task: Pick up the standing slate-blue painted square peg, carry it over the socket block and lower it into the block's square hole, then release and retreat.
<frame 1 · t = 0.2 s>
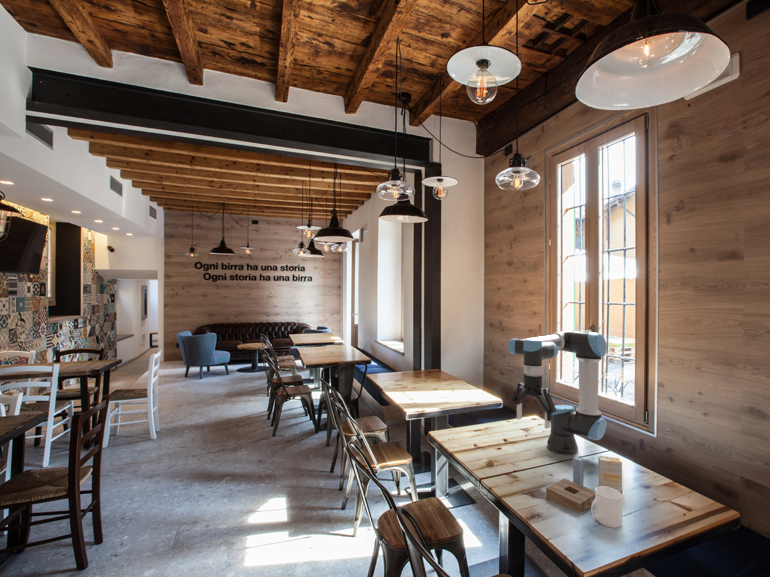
hand: (532, 423, 160), 27 cm above the table, fingers open, 13 cm apart
socket block: (571, 499, 150), on the table
mug: (604, 522, 135), on the table
peg: (578, 486, 160), on the table
supplement box: (610, 489, 158), on the table
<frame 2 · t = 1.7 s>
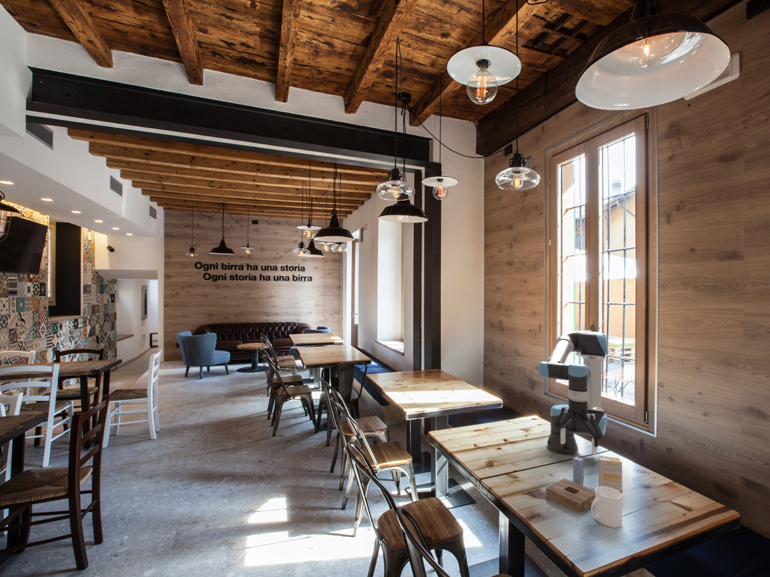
hand: (578, 448, 160), 17 cm above the table, fingers open, 13 cm apart
nothing on the table moved.
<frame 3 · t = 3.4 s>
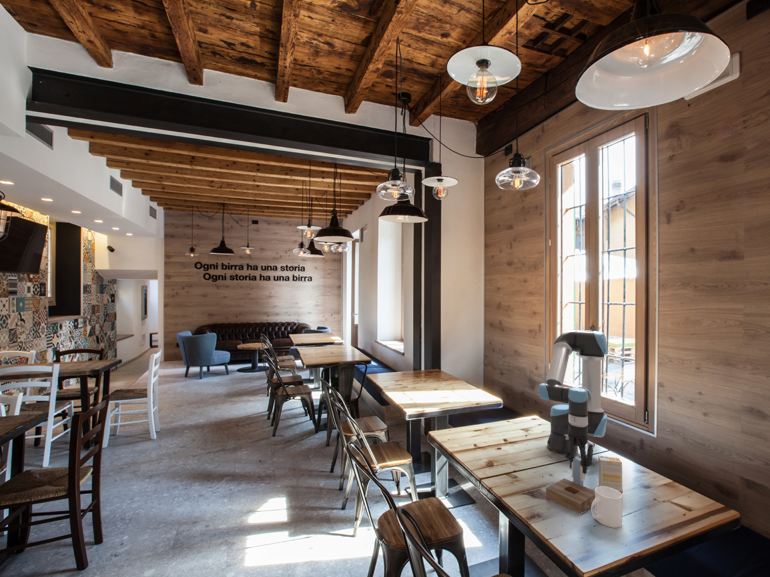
hand: (578, 478, 160), 4 cm above the table, fingers closed on peg, 3 cm apart
peg: (578, 486, 160), on the table, touching gripper
everything else where it was.
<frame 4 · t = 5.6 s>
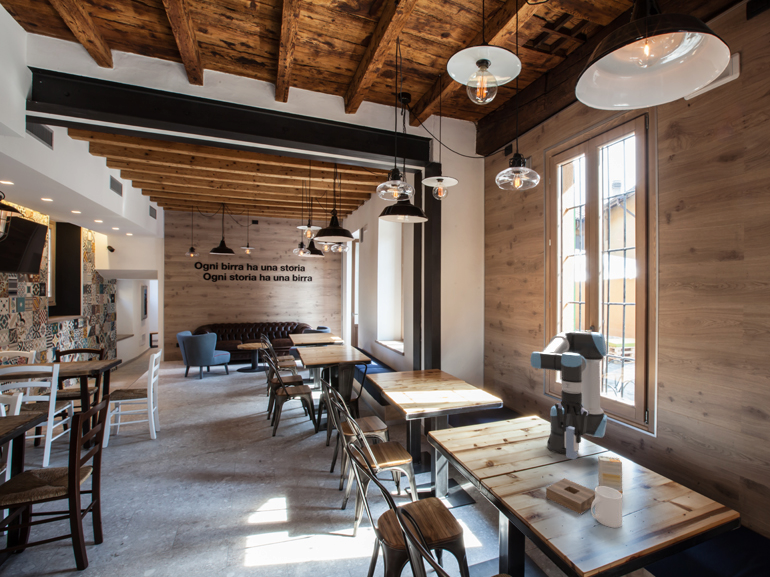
hand: (571, 448, 150), 21 cm above the table, fingers closed on peg, 3 cm apart
peg: (571, 457, 150), point 17 cm above the table, touching gripper
everything else where it was.
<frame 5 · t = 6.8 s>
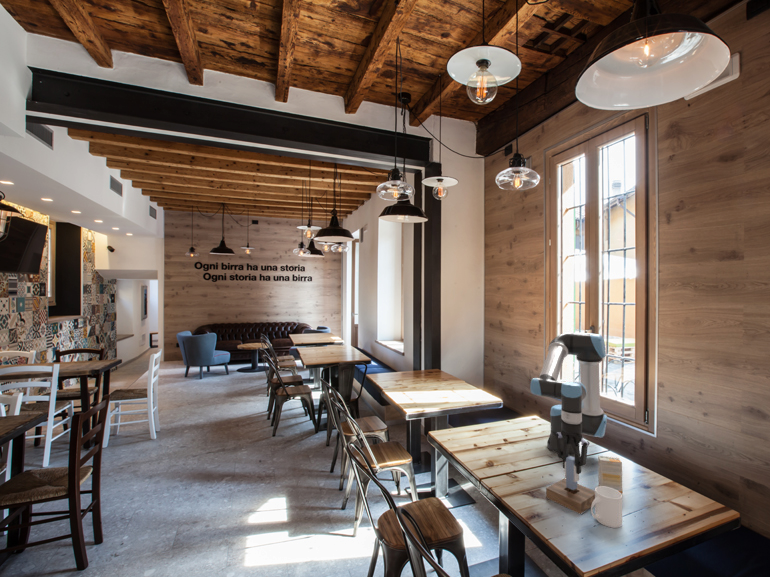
hand: (571, 478, 150), 9 cm above the table, fingers closed on peg, 3 cm apart
peg: (571, 487, 150), point 5 cm above the table, touching gripper
everything else where it was.
when the fingers open (5 cm above the table, at t = 7.7 s): peg drops 2 cm, resting in socket block.
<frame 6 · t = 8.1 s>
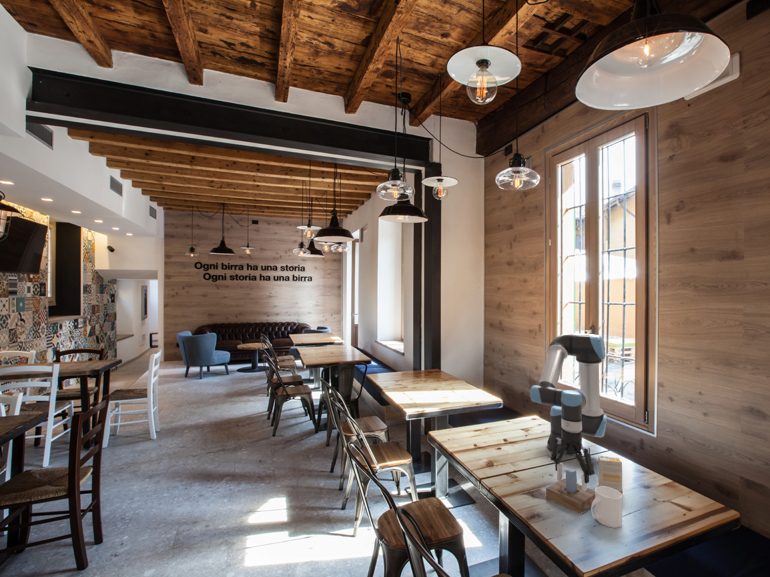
hand: (571, 484, 150), 6 cm above the table, fingers open, 9 cm apart
peg: (571, 499, 150), resting in socket block
everything else where it was.
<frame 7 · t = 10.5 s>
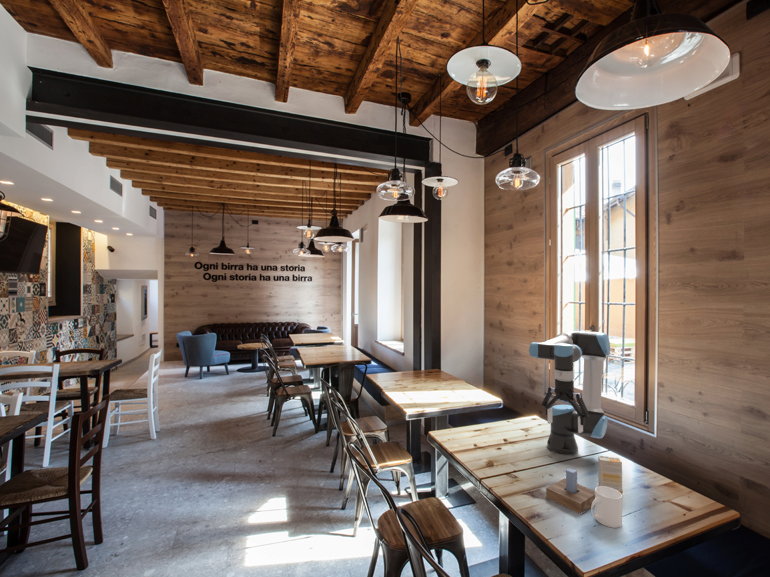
hand: (564, 427, 161), 25 cm above the table, fingers open, 13 cm apart
nothing on the table moved.
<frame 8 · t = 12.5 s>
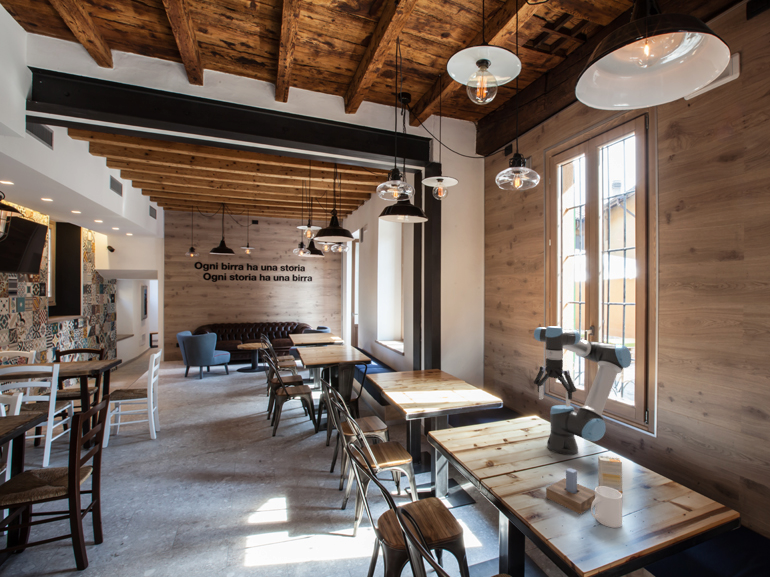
hand: (554, 402, 177), 32 cm above the table, fingers open, 13 cm apart
nothing on the table moved.
at the end: peg 0.1 cm off-centre on the socket block, point 0.0 cm above the socket block's base; peg tilted 0°; the gripper is holding nothing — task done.
